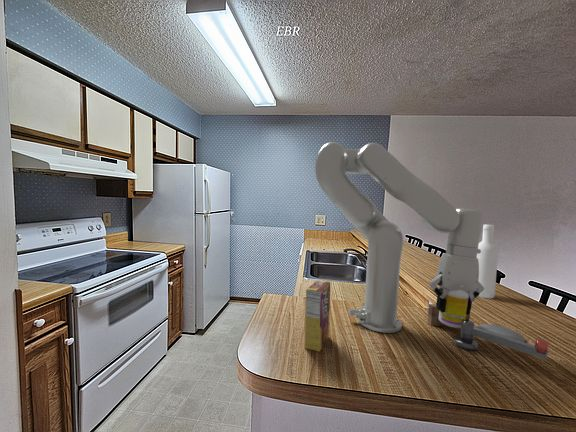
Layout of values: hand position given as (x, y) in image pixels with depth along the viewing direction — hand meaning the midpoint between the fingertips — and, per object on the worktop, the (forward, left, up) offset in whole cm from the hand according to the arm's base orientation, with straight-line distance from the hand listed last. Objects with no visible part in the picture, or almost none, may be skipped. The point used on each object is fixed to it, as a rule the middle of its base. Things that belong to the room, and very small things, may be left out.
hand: (452, 311), depth 81 cm
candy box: (-41, -7, -7) cm, 42 cm away
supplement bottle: (0, 0, -4) cm, 4 cm away
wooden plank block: (+2, +5, -6) cm, 9 cm away
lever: (+4, -12, -6) cm, 14 cm away
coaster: (+14, 0, -6) cm, 16 cm away
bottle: (+35, +35, -7) cm, 50 cm away
